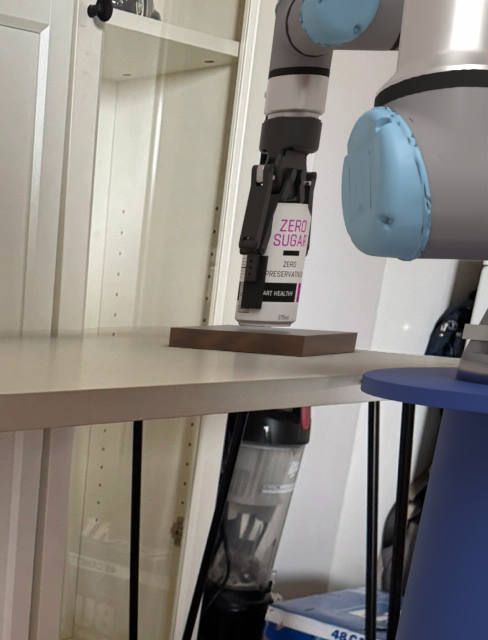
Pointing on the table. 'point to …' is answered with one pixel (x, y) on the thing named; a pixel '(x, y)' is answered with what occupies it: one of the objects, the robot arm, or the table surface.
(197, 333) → the walnut board
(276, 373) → the table surface
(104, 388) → the table surface
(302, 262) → the supplement can
